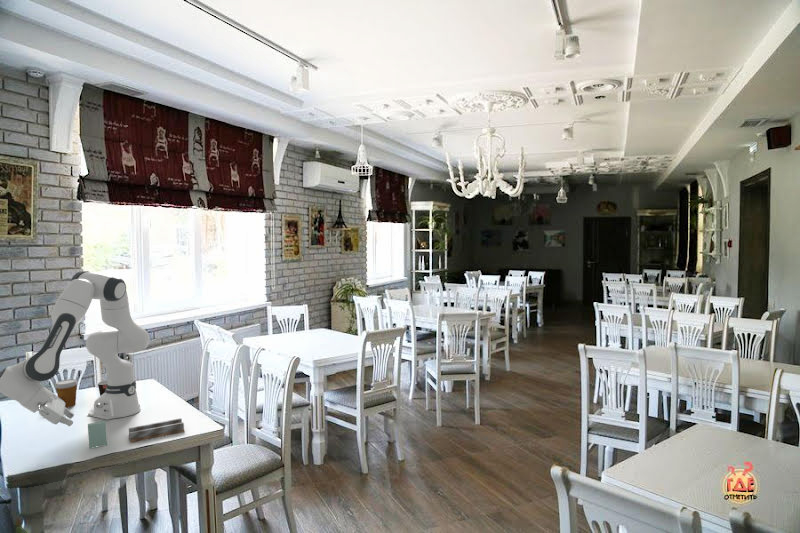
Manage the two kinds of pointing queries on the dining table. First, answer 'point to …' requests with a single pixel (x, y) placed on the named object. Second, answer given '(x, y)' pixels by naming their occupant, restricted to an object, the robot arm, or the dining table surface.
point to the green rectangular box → (97, 434)
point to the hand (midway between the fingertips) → (72, 420)
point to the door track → (156, 430)
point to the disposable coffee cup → (67, 391)
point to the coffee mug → (101, 388)
